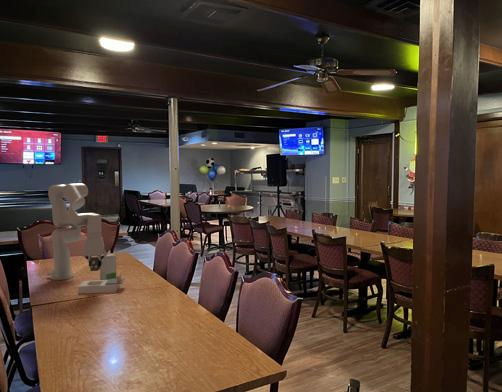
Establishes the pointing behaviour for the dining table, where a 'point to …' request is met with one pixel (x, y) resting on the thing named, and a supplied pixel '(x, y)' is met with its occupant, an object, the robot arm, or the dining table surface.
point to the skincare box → (108, 267)
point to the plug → (94, 264)
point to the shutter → (116, 280)
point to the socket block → (97, 287)
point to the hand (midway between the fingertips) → (95, 266)
